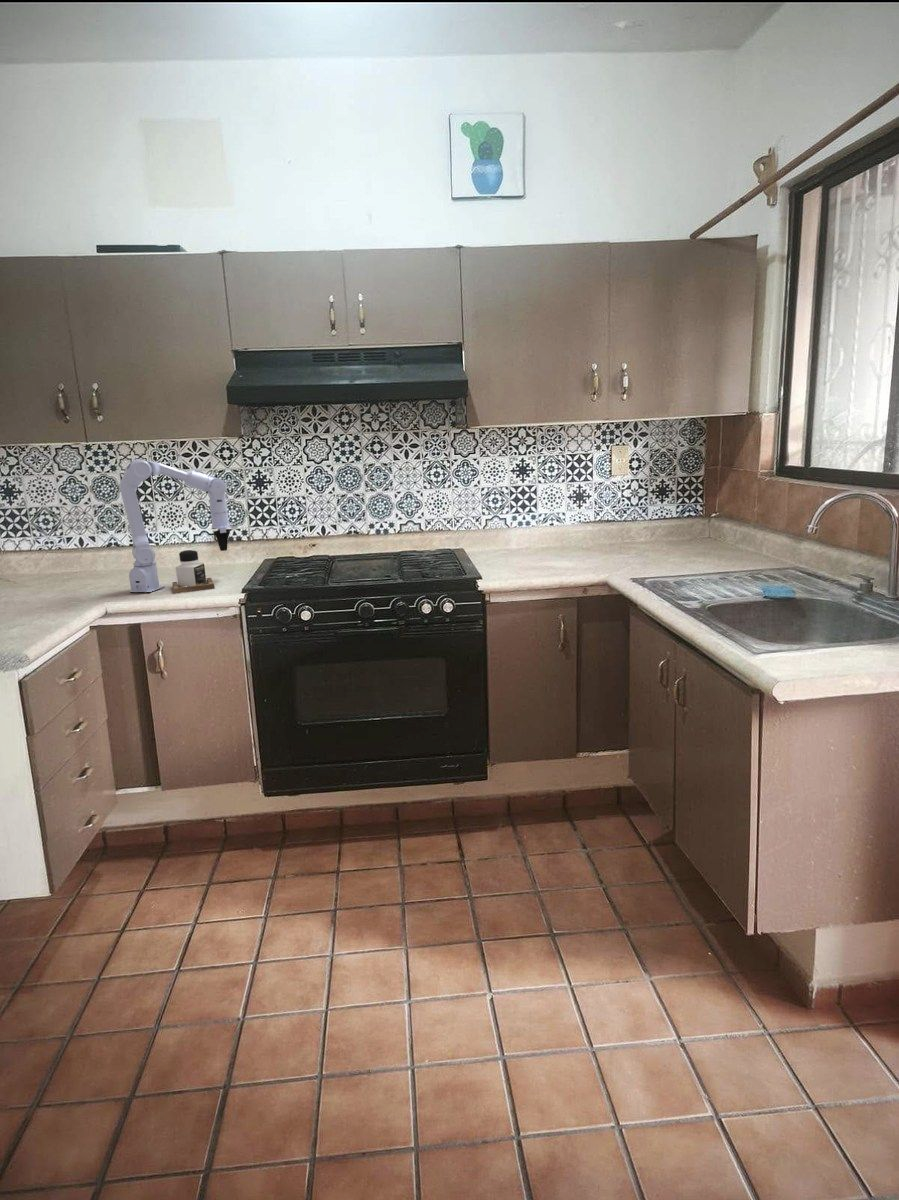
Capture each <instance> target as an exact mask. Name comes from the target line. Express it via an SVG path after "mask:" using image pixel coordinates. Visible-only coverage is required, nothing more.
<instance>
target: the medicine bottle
mask: <svg viewBox="0 0 899 1200" xmlns="http://www.w3.org/2000/svg"><path fill="white" fill-rule="evenodd" d="M178 554H179V562H180V564H179V565H176V566H175V573H176V579H177V580H176V582H177V585H178V587H179V586H195V585H204V584H206V583H207V575H206V568H205V567H206V566H205V563H204V562H199V555H198V554H199V553H198V551H197V550H195V549H188V550H183V551H180V552H179V553H178Z"/></svg>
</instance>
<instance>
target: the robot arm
mask: <svg viewBox="0 0 899 1200" xmlns="http://www.w3.org/2000/svg"><path fill="white" fill-rule="evenodd" d="M159 475H160V476H161V475H163V476H166V477H169V478H173V479H177V480H180V481H182V482H184V483H185V485H186V487H190V488H192V489H196V490H199V491H203V492H208V498H209V499H208V500H209V501H208V503H209V509H210V518H211V528H212V529H215V530H213V531H212V532H213V534H214V536H215V538H216V541H217V543H218V548H219V551H220V552H224V551H225V552H226V551H227V550H228V542H229V536H230V533H231V531H230V529H229V528H230V527H233V525H234V524H233V523H230V522H229V513H228V511H229V510H228V504H227V503H228V502H227V498H226V497H227V496H226V491H227V489H228V488H227V485H226V483H225V480H223V479H221V478H217V477H216V476H214V475H213V474H205V473H202V472H200V470H199V469H191V470H189V471H184V470H181V469H177V468H175V467H173V466H169V465H166V464H164V463H161V462H156V461H152V460H143V459H141V458H136V459H134V460H132V461H131V462H130V463H129V464H128V465H127V466H126V467H125V470H124V472H123V475H122V477H121V480H120V482H119V491H120V494H121V498H122V501H123V506H124V510H125V514H126V518H127V523H128V526H129V530H130V535H131V539H132V545H133V546H132V547H133V548H132V556H133V558H134V559H135V561H134V563H133V564H132V565H133V567H132V569H130V571H129V573H128V577H129V579H128V580H129V585H130V591H129V592H151V593H152V591H153V592H155V590H156V591H158V590H159V589H162V588H165V587H166V585H163V584H161V585H160V580H159V573H158V567H157V561H155V557H156V553H155V550H153V548H151V546H150V542H149V539H148V535H147V532H146V529H145V523H144V520H143V516H142V515H143V514H142V510H141V508H140V503H139V498H138V496H137V491H136V490H137V488H138V487H139V486H140V485H141V483H142V482H143V481H146V480H147V479H148V478H150V476H159ZM216 529H217V530H216ZM157 589H158V590H157Z"/></svg>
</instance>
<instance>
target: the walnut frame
mask: <svg viewBox="0 0 899 1200" xmlns="http://www.w3.org/2000/svg"><path fill="white" fill-rule="evenodd" d="M171 583H172V584H171V585H172V588H173V593H174V594H181V592H182V593H187V592H188V593H189V592H196V591H204V590H212V589H214V590H215V583H214V581H213V579H212V577H206V583H203V584H201V585H195V586H187V587H179V586H178V581H172V582H171Z"/></svg>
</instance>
